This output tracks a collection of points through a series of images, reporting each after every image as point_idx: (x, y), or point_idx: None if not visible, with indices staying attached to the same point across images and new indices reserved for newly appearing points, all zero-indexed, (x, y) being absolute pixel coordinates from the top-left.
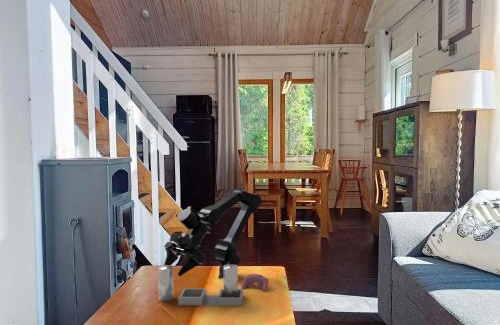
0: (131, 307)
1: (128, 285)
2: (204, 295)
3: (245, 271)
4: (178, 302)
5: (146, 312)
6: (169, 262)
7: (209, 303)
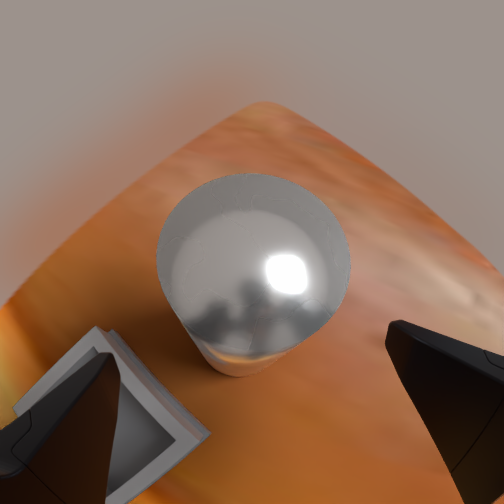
0: None
1: (490, 272)
2: None
3: None
4: (105, 332)
5: None
6: (441, 397)
7: None
